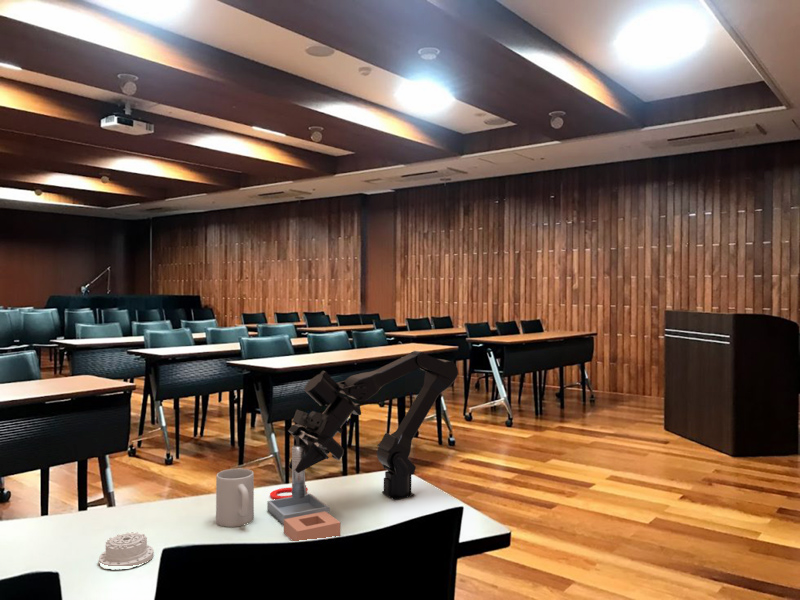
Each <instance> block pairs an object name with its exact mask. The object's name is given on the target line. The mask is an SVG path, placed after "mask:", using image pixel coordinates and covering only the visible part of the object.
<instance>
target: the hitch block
mask: <svg viewBox="0 0 800 600" xmlns="http://www.w3.org/2000/svg"><path fill="white" fill-rule="evenodd" d="M283 534H284V535H285V536H286V537H288V538H289V540H291V539H292V540H291V541H292V542H293V541H299V540H307V539H317V538H326V537H332V536H339V537H341V522H340V521H339V520H338V519H336V518H335V517H334V516H333V515H331V513H329V514H328V513H327V512H325V511H324V512H319V513H314V514H309V515H304V516H298V517H293V518H288V519H284V526H283Z"/></svg>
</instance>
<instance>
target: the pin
mask: <svg viewBox="0 0 800 600" xmlns="http://www.w3.org/2000/svg"><path fill="white" fill-rule="evenodd" d="M304 454H305V446H304V445H296V444H294V445H292V447H291V459H292V469H291V488H292V492H291V495H292V497H293V498H297V499H298V498H303V497H305V485H306V475H305V473H306V471H305V470H306V469H305V470H303V471H301V472H299V473H297V472H296V471H295V469H296V467H297V465H298V464H299V462H300V461H301V459H302V458H303V456H304Z"/></svg>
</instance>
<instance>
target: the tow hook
mask: <svg viewBox="0 0 800 600" xmlns="http://www.w3.org/2000/svg"><path fill="white" fill-rule="evenodd" d="M308 491H309V489H308V487H307V485H306V484H305V494H307V492H308ZM282 493H292V487H282V488H278V489H275V490H272V491H271V492H270V493H269V497H271V498H272V499H271V498H270V499H271V500H273V499H275V500H277V499H282V498H288V497H292V494H290V495H279V494H282Z"/></svg>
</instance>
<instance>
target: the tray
mask: <svg viewBox="0 0 800 600" xmlns="http://www.w3.org/2000/svg"><path fill="white" fill-rule="evenodd" d="M266 503H267V504H266V505H267V506H266V507H267V508H266V509H267V510H266V511H267V513H268V514H269V515H270V516H272V517H273V518H275V520H276V521H277V520H278V522H279V524H281V525H282V526H283V527H284V519H288V518H293V517H298V516H304V515H309V514H314V513H319V512H324V511H325V512H327V513H328V514H330V506H329V505H327V504H326V503H324V502H323V501H322V500H320V499H318V498H317V497H316V496H315V495H313V494H311V493H306V494H305V497H303V498H298V499H297V498H293V497H288V498H282V499H277V500H273V499H271V500H268V501H267V502H266Z"/></svg>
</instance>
